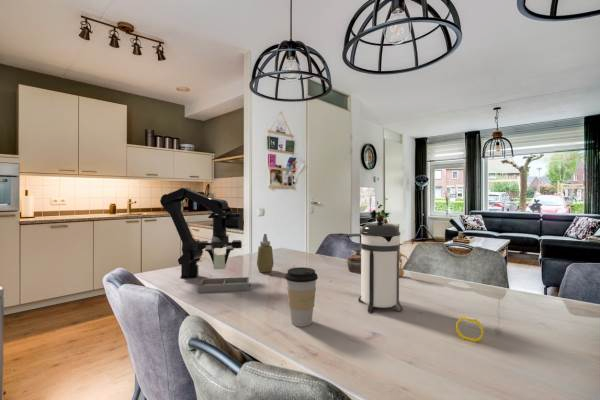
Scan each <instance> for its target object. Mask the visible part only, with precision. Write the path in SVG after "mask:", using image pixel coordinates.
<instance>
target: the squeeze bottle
mask: <svg viewBox="0 0 600 400" xmlns="http://www.w3.org/2000/svg"><path fill="white" fill-rule="evenodd" d="M273 252H274V251H273V247H272V245H271V241H270V240H268V235H267V233H264V234H263V237H262V240H261V241H260V245H259V246H258V248H257V258H256V266H257V270H258V272H259V273H263V274H264V273H270V272H272V271H273V268H274V267H273V266H274V262H275V261H274V255H273V254H274V253H273Z"/></svg>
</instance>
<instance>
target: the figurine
mask: <svg viewBox="0 0 600 400" xmlns="http://www.w3.org/2000/svg"><path fill="white" fill-rule="evenodd" d="M402 257H404V258H405V259H406V260H407V263H410V260H409V258H408V257H407V256H406V255H405V254H402V253H401V251H400V250H399V278H400V277H403V276H404V275H405V271H404V269H403V268H402V265H403V259H402Z"/></svg>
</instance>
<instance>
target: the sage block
mask: <svg viewBox="0 0 600 400" xmlns="http://www.w3.org/2000/svg"><path fill="white" fill-rule="evenodd" d="M225 256H226V252H217V253H215V252H214V265H213V270H225V269H226V266H227V263H226V264H225Z"/></svg>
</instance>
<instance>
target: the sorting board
mask: <svg viewBox="0 0 600 400" xmlns="http://www.w3.org/2000/svg"><path fill="white" fill-rule="evenodd" d="M249 279H250V277H249V276H248V277H247V276H246V277H244V276H243V277H222V278H220V277H219V278H218V277H217V278H202V279H201V281H200V282H199V284H198V286H197V292H198V293H199V294H200V293H217V292H218V293H222V292H238V291H239V292H241V291H242V292H243V291H249V284H250V281H249Z"/></svg>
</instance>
